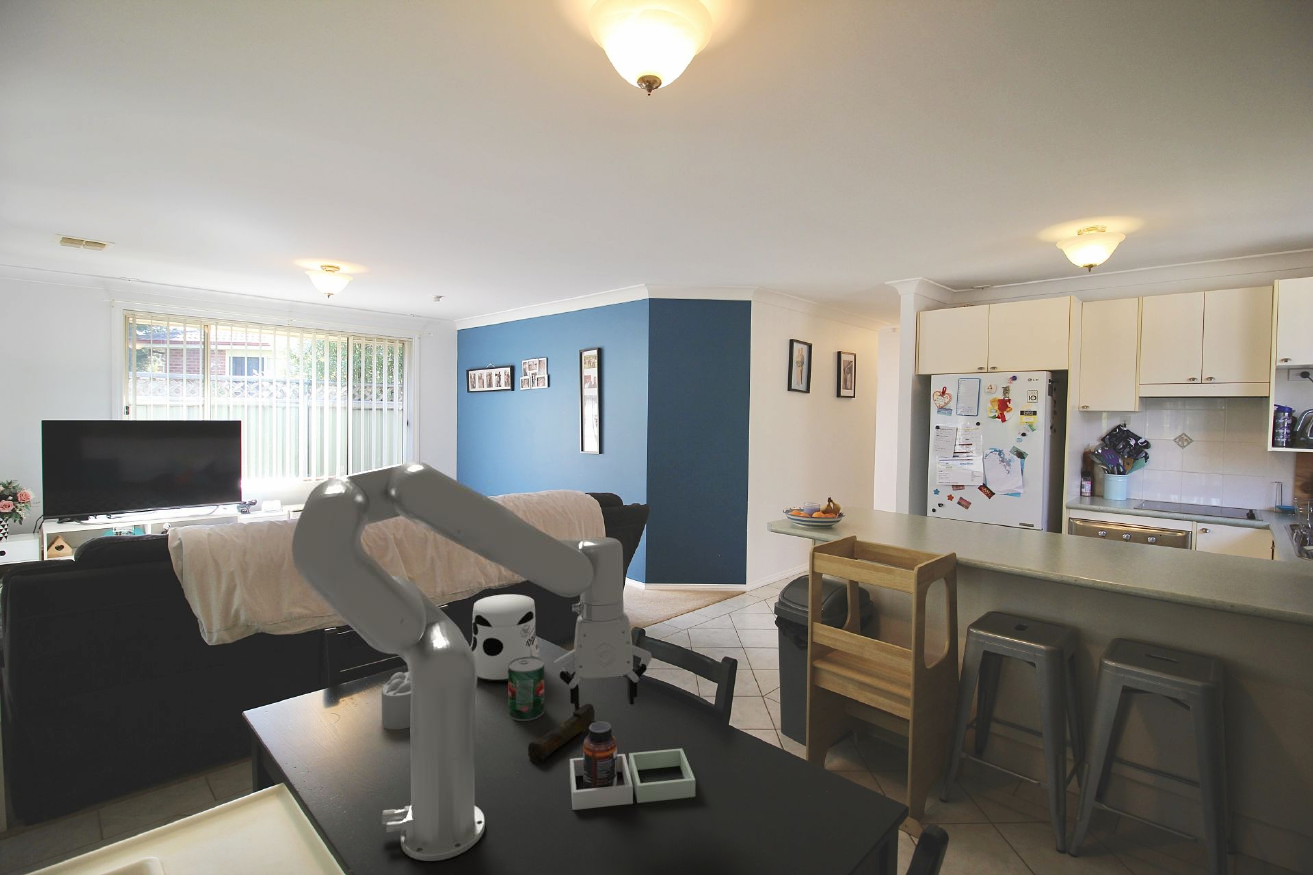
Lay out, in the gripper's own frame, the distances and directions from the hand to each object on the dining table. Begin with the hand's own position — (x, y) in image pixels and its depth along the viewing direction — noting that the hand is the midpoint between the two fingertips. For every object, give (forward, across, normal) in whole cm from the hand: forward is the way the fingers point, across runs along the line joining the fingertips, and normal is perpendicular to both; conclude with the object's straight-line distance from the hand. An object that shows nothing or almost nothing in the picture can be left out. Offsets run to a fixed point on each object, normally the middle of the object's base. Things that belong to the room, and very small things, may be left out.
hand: (603, 703), depth 110 cm
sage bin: (+16, +10, 0) cm, 18 cm away
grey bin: (+15, -1, 0) cm, 15 cm away
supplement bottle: (+15, -1, 0) cm, 15 cm away
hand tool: (+16, -7, +17) cm, 24 cm away
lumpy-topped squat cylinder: (+15, -40, +33) cm, 54 cm away
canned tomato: (+15, -14, +30) cm, 37 cm away
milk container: (+15, -20, +52) cm, 58 cm away
